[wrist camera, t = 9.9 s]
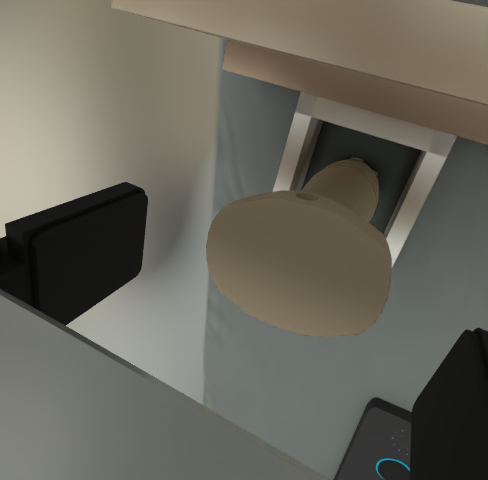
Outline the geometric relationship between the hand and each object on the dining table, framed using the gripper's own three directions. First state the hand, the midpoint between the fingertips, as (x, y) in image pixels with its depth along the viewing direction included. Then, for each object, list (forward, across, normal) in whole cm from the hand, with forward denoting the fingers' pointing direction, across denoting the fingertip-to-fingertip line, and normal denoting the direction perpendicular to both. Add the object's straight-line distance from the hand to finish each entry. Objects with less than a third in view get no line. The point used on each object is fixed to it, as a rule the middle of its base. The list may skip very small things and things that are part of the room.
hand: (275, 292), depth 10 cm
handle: (+17, 0, +1) cm, 17 cm away
